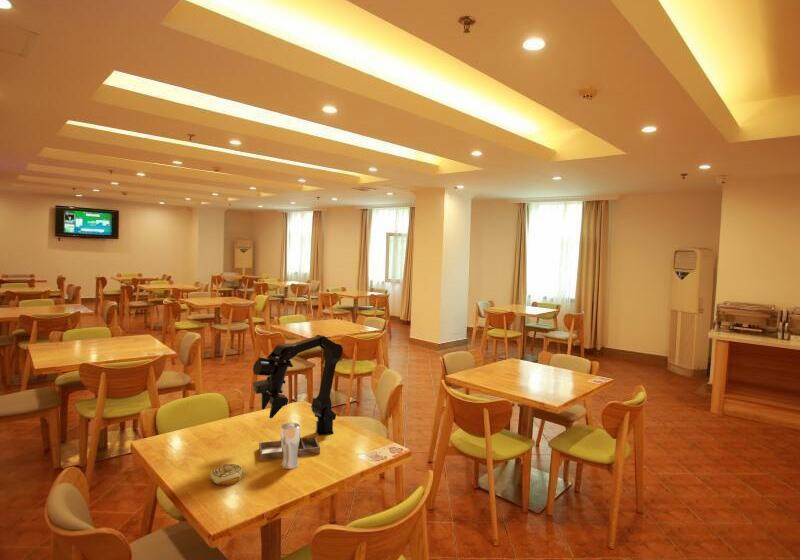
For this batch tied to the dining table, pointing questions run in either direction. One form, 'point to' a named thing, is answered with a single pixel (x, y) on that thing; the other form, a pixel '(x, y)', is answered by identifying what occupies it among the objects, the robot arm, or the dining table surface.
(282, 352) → the robot arm
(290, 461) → the metal cup
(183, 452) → the dining table surface
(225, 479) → the decorated donut
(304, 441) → the box
